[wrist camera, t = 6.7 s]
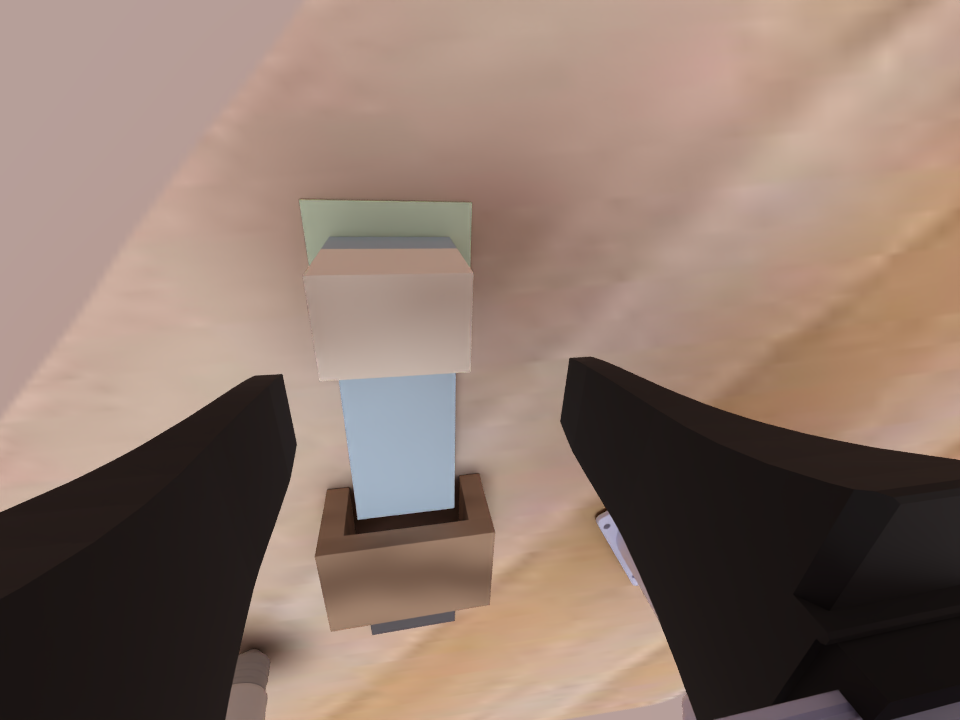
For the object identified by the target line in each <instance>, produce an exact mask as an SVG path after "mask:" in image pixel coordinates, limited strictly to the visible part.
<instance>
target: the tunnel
mask: <svg viewBox="0 0 960 720" xmlns="http://www.w3.org/2000/svg"><path fill="white" fill-rule="evenodd" d="M494 539H495V530H494V527H493V523H492V519H491V516H490V512H489V508H488V505H487V501H486V497H485V494H484V490H483V486H482V483H481V479H480V475H479V474H470V475H460V476H459V521H457V522H449V523H441V524H434V525H426V526H418V527H410V528H403V529H395V530H387V531H379V532H371V533H364V534H356V532H355V525H354V518H353V511H352V504H351V497H350V490H349V488H339V489H330V490H327V494H326V499H325V504H324V510H323V515H322V521H321V526H320V532H319V537H318V542H317V548H316V553H315V560H316V564H317V569H318V574H319V578H320V583H321V588H322V592H323V597H324V602H325V606H326V611H327V616H328V620H329V625H330V630H331V632H332V631H338V630H344V629H350V628H356V627H362V626H368V625H374V624H379V623H385V622H391V621H397V620H403V619H409V618H415V617H421V616H427V615H433V614H439V613H445V612H451V611H456V610H462V609H468V608H474V607H480V606H486V605H490V593H491V579H492V566H493V553H494Z"/></svg>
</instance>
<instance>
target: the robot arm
mask: <svg viewBox="0 0 960 720" xmlns="http://www.w3.org/2000/svg"><path fill="white" fill-rule="evenodd" d="M560 422H561V424H562V427H563V430H564V432H565V435H566V437H567V440H568V442H569V444H570V447H571V449H572V451H573V453H574V455H575V457H576V459H577V460H578V462H579V464H580V465H581V467H582V469H583V471H584V472H585V474H586V476H587V477H588V479H589V481H590V482H591V484H592V486H593V487H594V489H595V491H596V492H597V494H598V496H599V497H600V499H601V501H602V502H603V504H604V506H605V507H606V509H607V511H606V512H604V513H602V514H600V515H599V516H598V517H597V518H596V522H597V524H598V526H599V528H600V529H601V531H602V533H603V535H604V536H605V538H606V540H607V542H608V543H609V545H610V547H611V548H612V550H613V552H614V554H615V555H616V557H617V559H618V560H619V562H620V564H621V566H622V567H623V569H624V571H625V572H626V574H627V576H628V578H629V579H630V581H631V583H632V584H633V585H635V586H638V585H639V586H640V588H641V590H642V592H643V594H644V595H645V597H646V599H647V601H648V602H649V604H650V606H651V608H652V609H653V611H654V613H655V615H656V616H657V618H658V620H659V622H660V624H661V627H662V629H663V632H664V634H665V637H666V639H667V642H668V644H669V647H670V649H671V652H672V654H673V657H674V660H675V662H676V665H677V667H678V670H679V673H680V676H681V678H682V681H683V684H684V687H685V689H686V692H687V694H686V695H685V696H684V697H683V699H682V707H683V720H960V460H956V459H949V458H942V457H935V456H928V455H921V454H915V453H908V452H901V451H894V450H887V449H880V448H874V447H869V446H863V445H858V444H853V443H848V442H842V441H837V440H832V439H827V438H823V437H818V436H814V435H809V434H805V433H801V432H797V431H793V430H789V429H785V428H781V427H777V426H773V425H769V424H766V423H762V422H759V421H755V420H752V419H748V418H745V417H742V416H739V415H736V414H733V413H730V412H727V411H724V410H721V409H718V408H715V407H712V406H709V405H706V404H704V403H701V402H698V401H696V400H693V399H691V398H688V397H686V396H683V395H681V394H678V393H676V392H674V391H671V390H669V389H666V388H664V387H662V386H660V385H657V384H655V383H653V382H651V381H648V380H646V379H644V378H642V377H639V376H637V375H635V374H633V373H631V372H628V371H626V370H624V369H622V368H620V367H617V366H615V365H613V364H610V363H608V362H605V361H603V360H600V359H597V358H594V357H578V358H570V359H569V366H568V373H567V379H566V386H565V393H564V400H563V407H562V414H561V420H560ZM296 446H297V443H296V438H295V433H294V428H293V423H292V419H291V414H290V409H289V404H288V399H287V394H286V390H285V385H284V380H283V375H282V374H277V375H259V376H253V377H251V378H249V379H247V380H245V381H244V382H242V383H240V384H239V385H237V386H236V387H234V388H232V389H231V390H229V391H228V392H226V393H225V394H223V395H222V396H220V397H219V398H217V399H216V400H214V401H213V402H211V403H209V404H208V405H206V406H205V407H203V408H202V409H200V410H199V411H197V412H196V413H194V414H193V415H191V416H189V417H188V418H186V419H185V420H183V421H181V422H180V423H178V424H176V425H175V426H173V427H171V428H170V429H168V430H166V431H165V432H163V433H161V434H160V435H158V436H156V437H155V438H153V439H151V440H149V441H148V442H146V443H144V444H143V445H141V446H139V447H137V448H136V449H134V450H132V451H130V452H128V453H127V454H125V455H123V456H121V457H119V458H117V459H115V460H113V461H111V462H109V463H107V464H105V465H103V466H101V467H99V468H97V469H95V470H93V471H91V472H89V473H87V474H85V475H83V476H81V477H79V478H77V479H75V480H73V481H71V482H69V483H67V484H64V485H62V486H60V487H57V488H55V489H53V490H50V491H48V492H46V493H44V494H41V495H39V496H37V497H34V498H32V499H30V500H28V501H25V502H23V503H21V504H18V505H16V506H14V507H11V508H9V509H7V510H5V511H2V512H0V720H225V719H226V714H227V708H228V703H229V698H230V693H231V688H232V683H233V678H234V674H235V669H236V664H237V660H238V655H239V650H240V645H241V641H242V636H243V632H244V628H245V623H246V619H247V615H248V610H249V606H250V602H251V598H252V593H253V589H254V586H255V582H256V579H257V576H258V572H259V569H260V566H261V563H262V560H263V557H264V554H265V552H266V549H267V546H268V543H269V540H270V537H271V534H272V532H273V529H274V526H275V523H276V520H277V517H278V514H279V511H280V509H281V506H282V503H283V500H284V497H285V494H286V491H287V488H288V485H289V482H290V478H291V473H292V468H293V463H294V457H295V451H296Z"/></svg>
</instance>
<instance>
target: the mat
mask: <svg viewBox="0 0 960 720" xmlns="http://www.w3.org/2000/svg"><path fill="white" fill-rule="evenodd" d="M299 204H300V210H301V217H302V224H303V230H304V237H305V243H306V250H307V257H308V263H309V266H310V264H311V263H312V261H313V260H314V258H315V257H316V255H317V254H318V252H319V251H320V250H321V248H322V247H323V245H324V244H325V242H326V241H327V239H328V238H329V237H450V239H451V240H452V242H453V243H454V245H455V246H456V248H457V249H458V251H459V252H460V254H461V255H462V257H463V258H464V260H465V261H466V263H467V264H468V266H469V267H470V260H471V221H472V202H438V201H380V200H322V199H299Z"/></svg>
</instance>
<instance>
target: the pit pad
mask: <svg viewBox="0 0 960 720" xmlns="http://www.w3.org/2000/svg"><path fill="white" fill-rule="evenodd" d="M451 621H455V611H451V612H445V613H439V614H433V615H427V616H421V617H415V618H409V619H403V620H397V621H391V622H385V623H379V624H374V625H371V630H372V635H376V634H381V633H387V632H393V631H399V630H404V629H410V628H416V627H422V626H427V625H433V624H439V623H445V622H451Z"/></svg>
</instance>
